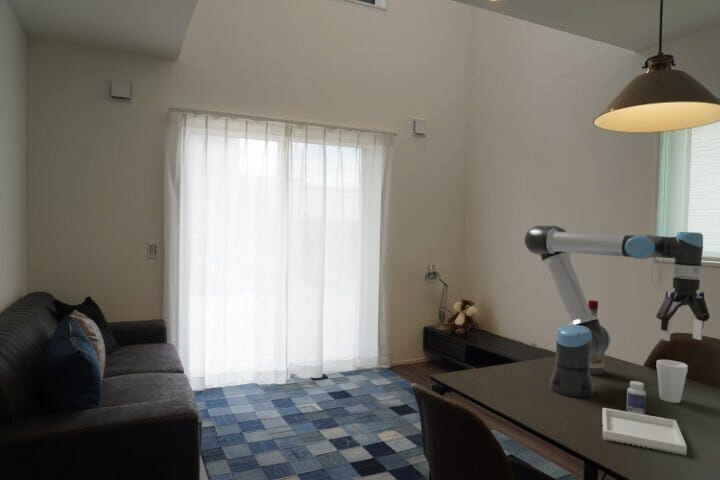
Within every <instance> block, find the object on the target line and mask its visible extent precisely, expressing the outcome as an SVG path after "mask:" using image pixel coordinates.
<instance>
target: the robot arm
mask: <svg viewBox="0 0 720 480" xmlns="http://www.w3.org/2000/svg"><path fill="white" fill-rule="evenodd" d="M524 245H525V247H526V248H527V250H528V251H529V252H531V253H532V254H535V255H540V258H541V261H542V263H544V264H546V265H548V269H549V271H550V274H551V276H552V279H553V281H554V284H555V286H556V290H557V292H558V295H559V297H560V300H561V302H562V304H563V307H564V310H565V313H566V315H567V318H568V324H566V325H562V326H560V327H559V328H558V329H557V332H556V336H555V340H556V345H555V346H556V348H555V367H554V369H553V373H552V374H551V375H552V376H551V378H550V381H549V388H550V389H551V391H554V392H555V393H557V394H560V395H564V396H569V397H576V398H587V397H588V398H589V397H593V396H594V395H595V386H594V381H593V378H592V375H590V358H592V357H595V356H599V355H601V354H603V353H604V352H605V353H606V351H607V350H608V349H609V347H610V345H611V335H610V333H609V332H608V330H607V329H606V327H603V326H602V325H601V323H600V320H599V318H598V316H597V317H595V316H593V315H592V314H591V311H590V309H589V306H588V302H587V299H586V296H585V294H584V291H583V289H582V286H581V284H580V281H579V279H578V277H577V276H578V275H577V274H576V271H575V268H574V266H573V263H572V262H571V259H570V257H571V255H572V254H585V255H595V256H596V255H599V256H611V257H613V256H614V257H623V258H624V257H625V258H633V259H637V260H639V259H640V260H641V259H643V260H644V259H650V258H652V259H653V258H660V259H671V260H672V259H674V264H673V265H674V266H673V274H672V275H673V276H674V277H673V278H672V288H673V289H674V291H669V290H666V291H665V298H664V299H663V302H662V303H661V305H660V307H659V310H658V311H657V313H656V319H658V320H661V323H660V330H661V336H660V339H661V340H663V341H668V342H670V341H671V330H672V321H670V320H671V319H672V317H673V316H674V315H675V314H676V312H677V311H678V309H680V308H681V307H683V306H688V307H689V309H690V310H691V312H692V313H693V315H694V317H695V318H696V319H694V320H693V330H692V339H695V340H699V341H702V339H703V330H704V327H705V322H708V320H709V319H710V312H709V308H708V307H707V303H706V300H705V299H706V298H705V292H703V291H699V290H700V285H701V280H700V279H701V270H702V269H701V268H702V259H703V252H704V235H703V234H702V233H701V232H693V231H677V233H676V236H664V235H663V236H661V235H650V234H646V235H642V234H641V235H629V234H613V233H611V234H608V233H593V232H592V233H591V232H590V233H589V232H574V231H573V232H569V231H567V230H566V229H564V227H563V228H562V227H561V226H557V225H535V226H534V227H531V228H530V229H528V230H527V231H526V233H525V236H524Z"/></svg>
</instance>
